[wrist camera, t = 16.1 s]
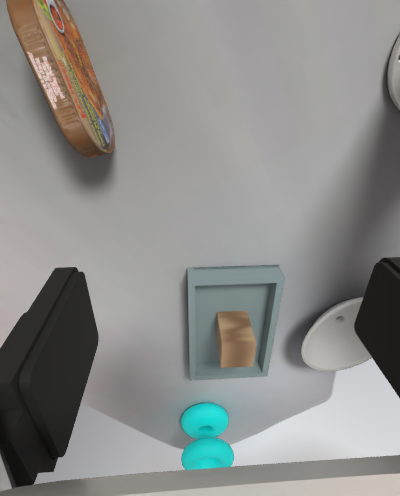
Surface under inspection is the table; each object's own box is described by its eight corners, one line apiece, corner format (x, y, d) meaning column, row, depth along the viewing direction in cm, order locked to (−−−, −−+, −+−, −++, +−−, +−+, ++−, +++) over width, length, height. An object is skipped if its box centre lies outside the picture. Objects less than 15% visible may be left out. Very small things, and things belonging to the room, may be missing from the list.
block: (246, 310, 50) (256, 343, 44) (244, 332, 52) (253, 366, 46) (216, 311, 49) (222, 344, 43) (215, 333, 52) (220, 367, 46)
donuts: (234, 449, 54) (235, 476, 59) (226, 397, 62) (228, 424, 67) (178, 455, 54) (184, 482, 59) (178, 402, 62) (183, 429, 67)
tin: (121, 143, 36) (106, 161, 29) (96, 150, 36) (75, 170, 29) (62, -16, 29) (22, -46, 21) (31, -6, 29) (-19, -33, 22)
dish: (325, 359, 58) (337, 382, 54) (273, 329, 53) (281, 351, 49) (403, 301, 52) (424, 322, 47) (352, 260, 47) (370, 279, 42)
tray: (278, 264, 46) (284, 277, 44) (262, 361, 57) (267, 376, 55) (187, 267, 46) (187, 280, 43) (189, 365, 56) (189, 380, 54)
